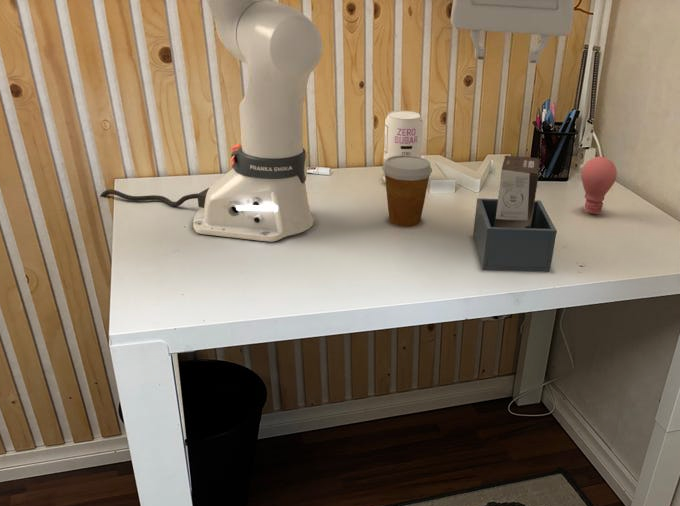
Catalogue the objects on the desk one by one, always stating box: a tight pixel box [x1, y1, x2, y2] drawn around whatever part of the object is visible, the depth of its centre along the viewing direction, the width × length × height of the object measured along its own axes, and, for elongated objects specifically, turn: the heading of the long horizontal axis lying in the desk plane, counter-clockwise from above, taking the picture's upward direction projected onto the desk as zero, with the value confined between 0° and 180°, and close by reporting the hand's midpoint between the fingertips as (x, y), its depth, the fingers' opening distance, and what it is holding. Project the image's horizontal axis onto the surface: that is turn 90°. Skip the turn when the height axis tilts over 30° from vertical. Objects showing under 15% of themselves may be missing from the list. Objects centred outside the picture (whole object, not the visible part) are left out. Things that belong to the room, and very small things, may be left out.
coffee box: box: [494, 155, 541, 228], centre depth 131 cm, size 9×6×16 cm
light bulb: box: [580, 156, 618, 215], centre depth 152 cm, size 7×7×12 cm
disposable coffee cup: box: [382, 155, 433, 228], centre depth 143 cm, size 10×10×12 cm
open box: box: [472, 197, 558, 273], centre depth 134 cm, size 12×15×8 cm
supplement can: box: [382, 110, 424, 183], centre depth 161 cm, size 8×8×15 cm
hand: (506, 60), depth 126 cm, fingers open, 8 cm apart
